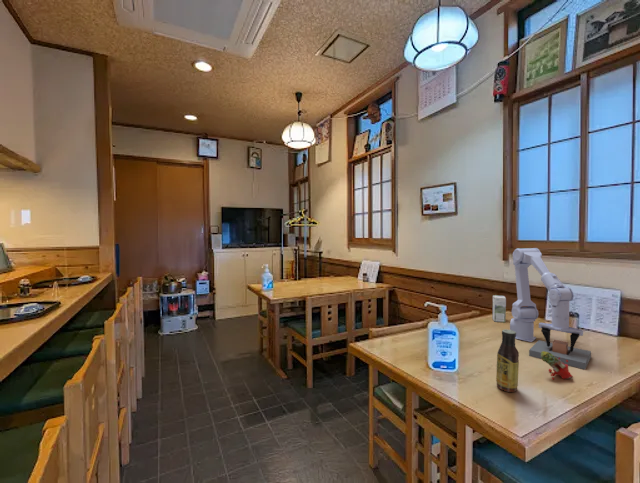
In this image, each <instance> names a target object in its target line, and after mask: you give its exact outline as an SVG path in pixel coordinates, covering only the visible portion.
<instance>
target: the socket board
mask: <svg viewBox="0 0 640 483" xmlns="http://www.w3.org/2000/svg"><path fill="white" fill-rule="evenodd" d="M552 348H553V342H550V346H549V347H548V346H547V343H546V340H545V341H544V340H537V342H535V343H534V344H533V345H532V347H531V348H529V349H528V355H529V357H533V358H536V359H540V360H542V359H541V358H542V357H541V352H542V351H545V352H549V353H551V354H552V355H554V356H555V357H557V359H559V358H560V359H559V360H560V361H561V362H563V363H564V364H567V365H568V367H572V368H577V369H580V370H586V368H588V365H589V362H590V360H591V358H592V357H591V356H592V351H591V350H587V349H582V348H577V347H574V348H573V352H570V346H569V345H568V355H566V354H561V353H557V352H552ZM566 360H568V362H566Z"/></svg>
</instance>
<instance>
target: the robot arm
mask: <svg viewBox="0 0 640 483" xmlns="http://www.w3.org/2000/svg"><path fill="white" fill-rule="evenodd" d="M542 257H543V254H542V252H541V250H540V249H539V248H538V247H533V248H531V247H529V248H515V249H514V250H513V252H512V261H513V264H512V265H514V272H515V274H514V275H515V276H514V277H515V284H516V285H515V286H516V297H517V300H516V301H514V302H513V303H512V305H511V306H512V308H511V316H512V318H511V319H510V323H509V330H512V331H515V332H516V337H515V340H521V341H525V342H529V343H532V342H534V341H535V340H536V339H537V337H536V336H534V335H535V332H534V331H535V330H534V327H535V326H534V324H535V322H536V320H537V319H538V318H539V310H538V309H537V304H536V303H535V302H534V301H532V300H531V290H530V280H529V279H530V278H529V269H528V268H529V267H530V266H531V265H532V266H533V268H534V269H535V270H536V271H537V272H538V273H539V275H540V276H541V278H540V281H541V282H542V284H543V285H544V286H545V288H546V289H547V291H548V293H547V295H548V298H549V300H550V304H551V323H547V322H546V323H545V322H539V323H538V328H539V329H541V331H540V332H541V334H542V335H543V337H544V340H545V342H546V343H547V346H548V347H549V346H550V343H551V330H552V331H556V332H562V333H565V334H566V333H567V334H570V335H569V336H570V340H569V341H570V346H569V347H570V352H573V348H575V345H576V343H577V340H578V339H579V338H580V337H583V336H584V330H583V329H580V328H575V327H573V326H572V327H571V326H570V303H571V301H572V300H573V299H574V292H573V290H572V289H571V287H570V286H569V287H568V286H566V285H565V284H563V282H562V281H561V280H560V279H559V278H558V275H557V274H556V273H554V272H550V270H549V268H548V267H547V265H546V264H545V262H544V260H543V259H542Z"/></svg>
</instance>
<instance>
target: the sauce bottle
mask: <svg viewBox="0 0 640 483" xmlns="http://www.w3.org/2000/svg"><path fill="white" fill-rule="evenodd" d="M501 337H502V338H501V343H500V345H499V348H498V351H497V353H496V354H497V355H496V378H495V381H496V386H497V388H498V389H499V390H502V391H503V390H504V392H506V393H507V392H508V393H515V392H517V391H518V386H519V367H520V366H519V365H520V362H519V357H520V355H519V354H520V352H519V351H518V349H517V347H516V339H515V337H516V332H515V331H512V330H510V329H508V328H507V329H506V328H505V329H502V331H501Z"/></svg>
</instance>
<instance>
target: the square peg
mask: <svg viewBox="0 0 640 483" xmlns="http://www.w3.org/2000/svg"><path fill="white" fill-rule="evenodd" d="M552 343H553V348H552V352H557V353H561V354H566V355H568V346H569V342H568V341H564V340H560V339H559V340H558V339H554V340H553V341H552Z"/></svg>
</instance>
